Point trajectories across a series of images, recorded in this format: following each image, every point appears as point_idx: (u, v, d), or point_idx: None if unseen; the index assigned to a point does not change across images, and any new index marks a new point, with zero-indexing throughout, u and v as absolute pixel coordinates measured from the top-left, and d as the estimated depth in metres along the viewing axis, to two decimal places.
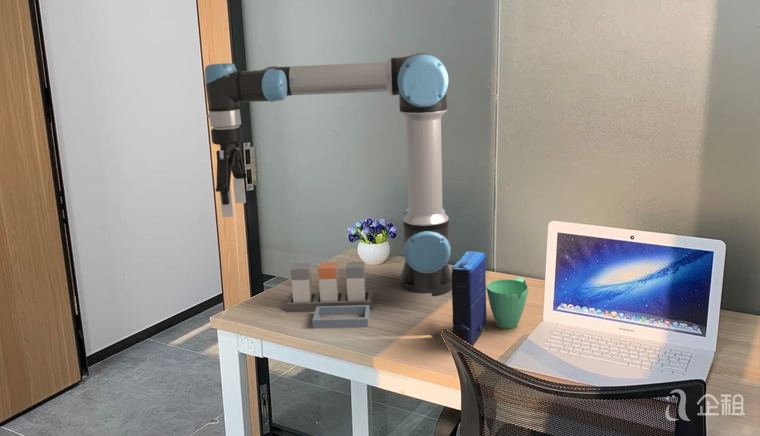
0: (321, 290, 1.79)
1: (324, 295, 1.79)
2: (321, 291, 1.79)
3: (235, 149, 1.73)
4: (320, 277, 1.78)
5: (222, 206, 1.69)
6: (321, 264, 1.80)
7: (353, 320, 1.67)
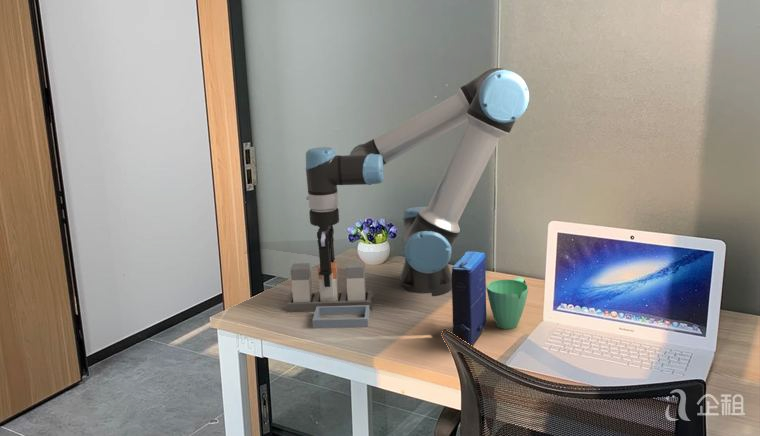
0: (321, 290, 1.79)
1: None
2: (321, 291, 1.79)
3: (331, 228, 1.78)
4: (320, 277, 1.78)
5: (323, 288, 1.78)
6: None
7: (353, 320, 1.67)
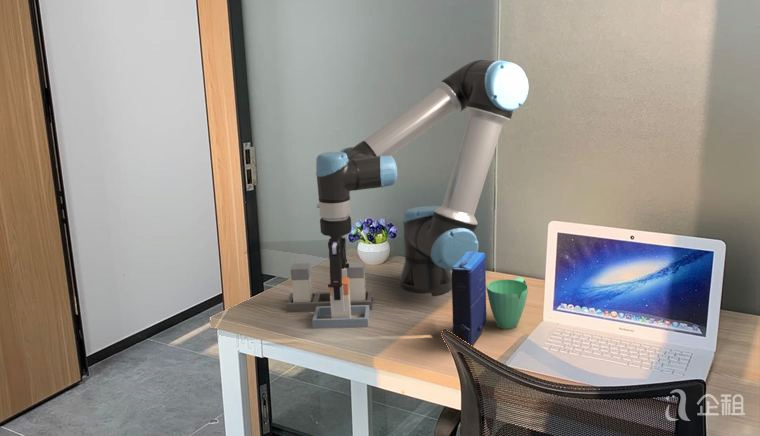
0: (332, 307, 1.69)
1: (335, 312, 1.69)
2: (332, 308, 1.69)
3: (343, 238, 1.67)
4: (331, 293, 1.68)
5: (333, 301, 1.64)
6: None
7: (353, 320, 1.67)
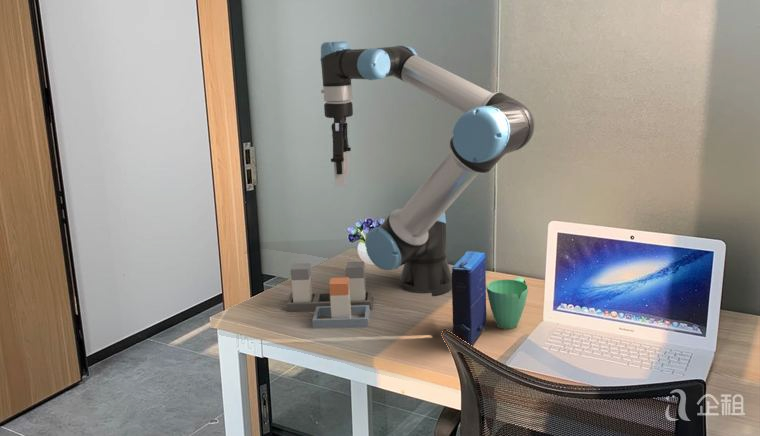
0: (332, 307, 1.69)
1: (335, 312, 1.69)
2: (332, 308, 1.69)
3: (345, 123, 1.84)
4: (331, 293, 1.68)
5: (335, 176, 1.79)
6: (332, 279, 1.70)
7: (353, 320, 1.67)
